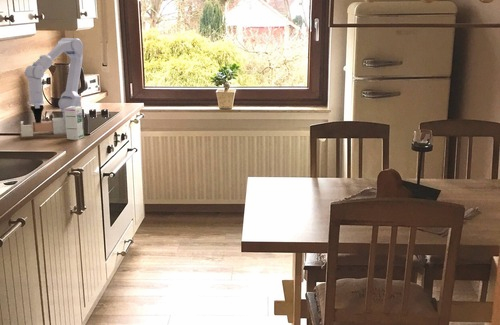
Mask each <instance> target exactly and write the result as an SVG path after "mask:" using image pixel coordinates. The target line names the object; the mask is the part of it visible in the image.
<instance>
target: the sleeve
mask: <svg viewBox="0 0 500 325" xmlns="http://www.w3.org/2000/svg"><path fill="white" fill-rule="evenodd" d="M51 119H52V120H51V121H53V134H54V135H57V134H67V132H66V121H65V117H63V116H62V117H52V118H51Z"/></svg>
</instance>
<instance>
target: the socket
mask: <svg viewBox="0 0 500 325" xmlns="http://www.w3.org/2000/svg"><path fill="white" fill-rule="evenodd" d="M20 130H21V132H20V133H22V137H26V136H33V124H25V125H24V121H20Z"/></svg>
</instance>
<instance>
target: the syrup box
mask: <svg viewBox="0 0 500 325" xmlns="http://www.w3.org/2000/svg"><path fill="white" fill-rule="evenodd" d="M83 118H84V117H83V108H82V106H81V107H80V106H70V107H68V108H65V121H66V132H67V137H66V140H75V141H79V140H81V139H83V138H85V130H84V119H83Z"/></svg>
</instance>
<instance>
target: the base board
mask: <svg viewBox="0 0 500 325" xmlns="http://www.w3.org/2000/svg"><path fill="white" fill-rule="evenodd" d="M19 138H20V141H25V140H27V141H28V140H38V139H42V140H43V139H57V138H67V134H57V135H54V134H53V131H46V132H33V136H26V137H22V132H20V133H19Z"/></svg>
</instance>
